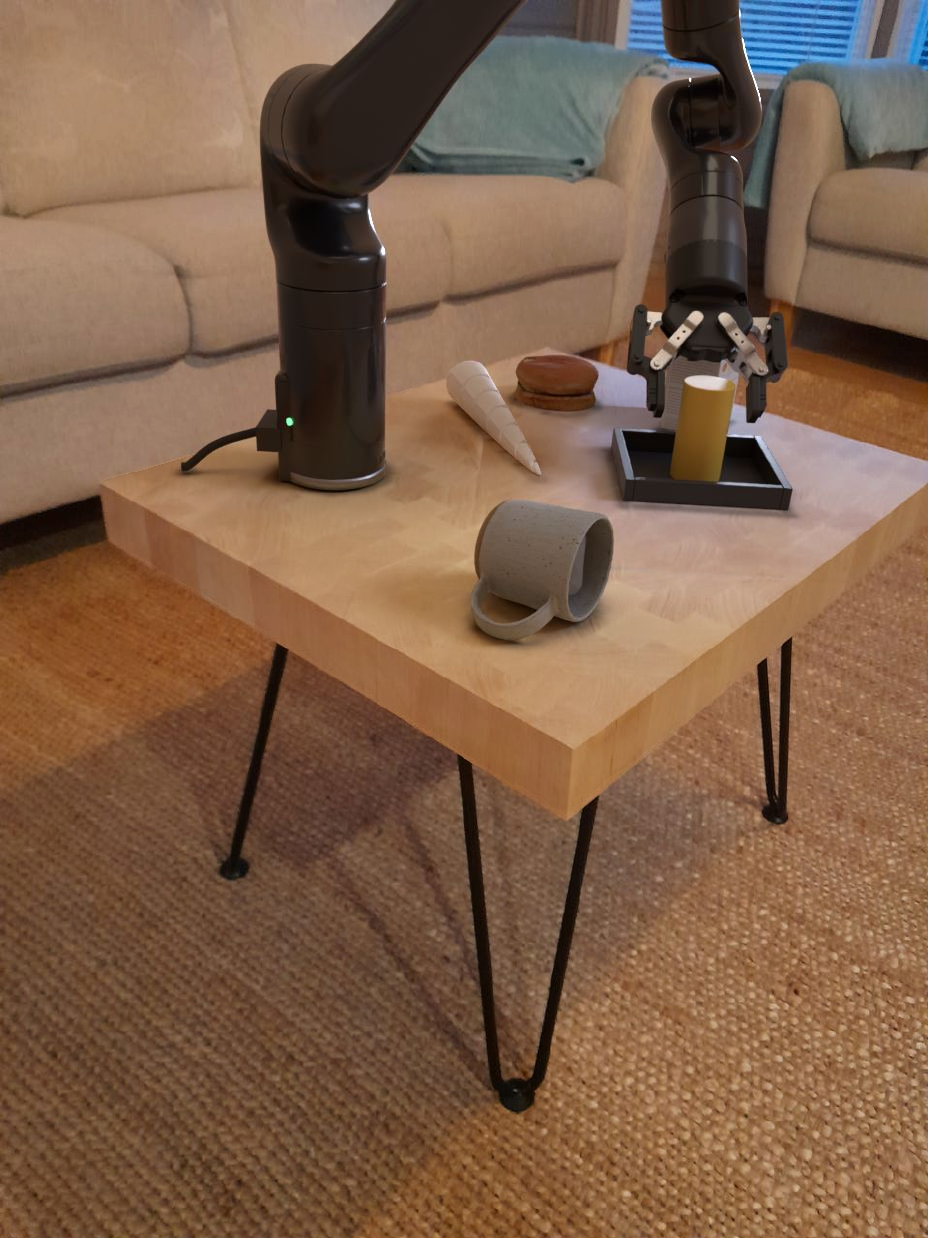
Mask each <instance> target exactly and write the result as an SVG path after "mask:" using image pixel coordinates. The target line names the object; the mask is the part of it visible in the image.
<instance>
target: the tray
mask: <svg viewBox="0 0 928 1238" xmlns="http://www.w3.org/2000/svg"><path fill="white" fill-rule="evenodd" d="M611 436H612V437H611V444H610V445H611V446H610V449H611V453H612V458H613V462H614V466H615V471H616V475H617V476H616V477H617V480H618V485H619V488H620V493H621V497H622V501H623V502H635V503H650V504H651V503H652V504H670V505H687V506H704V507H720V508H737V509H738V508H739V509H756V510H774V511H789V508H790V504H791V499H792V496H793V490H794V488H793V487H792V485H791V484H790V482H789V480H788V479H787V477H786V475H785V474H784V472H783V470H782V468H781V467H780V465H779V464H778V462H777V460H776V459H775V457H774V455H773V454H772V452H771V450H770V449H769V447H768V445H767V443H766V442H765V440H764V438H763V437H762V436H761V435H750V434H749V435H745V434H733V433H730V434H729V433H727V439H726V444H725V450H724V456H723V461H722V467H721V473H720V478H719V481H718V482H715V481H698V480H680V479H674V478H672V477H671V475H670V469H671V462H672V456H673V449H674V442H675V436H676V431H675V430H662V429H660V430H659V429H644V428H624V427H623V428H622V427H613V429H612V435H611Z"/></svg>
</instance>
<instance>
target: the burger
mask: <svg viewBox="0 0 928 1238" xmlns="http://www.w3.org/2000/svg"><path fill="white" fill-rule="evenodd" d="M515 375H516V378H517V385H516V386H517V387H516V389H515V390H514V393H513V398H514V401H516V402H519V403H522V404H524V405H527V406H531V407H538V408H542V409H545V410H552V411H561V412H576V411H583V410H586V409H590V408H592V407H593V406H594V405H595V404H596V400H597V398H596V394H595V391H594V388H595V387H596V386H595V385H596V384H597V382H598V379H599V369H597V367H596V366H595V365H594V364H592V363H591V362H590V361H588V360H585V359H583V358H580V357H576V356H573V355H566V354H546V355H532V356H531V355H530V356H526V357H524V358H522V359H521V360H520V361H519V362H518V364H517V365H516V369H515Z"/></svg>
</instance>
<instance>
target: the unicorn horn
mask: <svg viewBox="0 0 928 1238" xmlns="http://www.w3.org/2000/svg"><path fill="white" fill-rule="evenodd" d="M445 384H446V385H445V387H446V390H447V394H448V395H449V397H450V398H451V399H452V400H453V401H454V402H455V403H456V404H457V405H458V406H459V407H460V408H461V409H462V410H463V411H464V412H465V413H466V414H467V415H468V416H469V417H470V418H471V419H472V420H473V421H474V422H475V423H476V424H477V425H479V427H481V428H482V430H483V431H484V432H485V433H487V434H488V435H489V436H490V437H491V438H492V439H493V440H494V441H495V442H496V443H497V444H498V445H500V446H501V448H503V449H504V450H505V451H506V452H507V453H508V454H509V455H511V457H513V458H514V459H515V460H517V461H518V462H519V463H520V464H522V466H524V467H525V468H526V469H527V470H529V471H530V472H532V473H533V474H536V476H541V475H542V472H541V468H540V466H539V462H537V461H536V460H537V459H536V457H535V454H534V453H533V450H532V448H531V446H530V444H529V443H528V441H527V439H526V437H525V436H524V433H523V432H522V430H521V428H520V427H519V424H518V423H517V420H516V419H515V417H514V415H513V413H512V412H511V410H510V409H509V407H508V405H507V403H506V401H505V400H504V398H503V397H502V395H501V393H500V391H499V389H498V388H497V386H496V384H495V382H494V381H493V379H492V377H491V375H490V374H489V371H488V370H487V368H485V366H484V365H483V364H482V363H481V362H479V361H477V360H463V361H460V362H458V363H456V364H454V366H453V367H452V368H450V369H449V371H448V373H447V376H446V382H445Z"/></svg>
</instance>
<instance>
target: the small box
mask: <svg viewBox="0 0 928 1238" xmlns="http://www.w3.org/2000/svg"><path fill="white" fill-rule="evenodd" d="M736 351H737V349H736ZM737 352H738V351H737ZM699 375H704V376H715V377H720V378H724V379H727V380H729V381H732V382H733V383H734V384H735V385H736V388H735V394H734V399H733V405H732V410H731V416H730V419H732V415H733V408H734V403H735V398H736V392H737V389H738V388H737V387H738V382H739V378H740V377H739V376H740V373H739V372H735V371H734V370H733V369H732V368H731V367H730V366H729V364H728V363H727V362H726V361H725V360H722V361H721V363H715V362H709V361H706V360H700V361H687V358H684V357H683V356H680V357H679V358H678V359H677V361H676V362H675V363H674V364H673V365H672V366H671V367H670V368H668V369H667V370H666V376H665V409H664V412H663V415H662V417H661V418H659V419H660V420H659V428H661V429H662V428H663V429H665V430H669V431H676V429H677V423H678V416H679V409H680V403H681V396H682V390H683V383H684V380H685V378H687V377H690V376H699Z"/></svg>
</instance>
